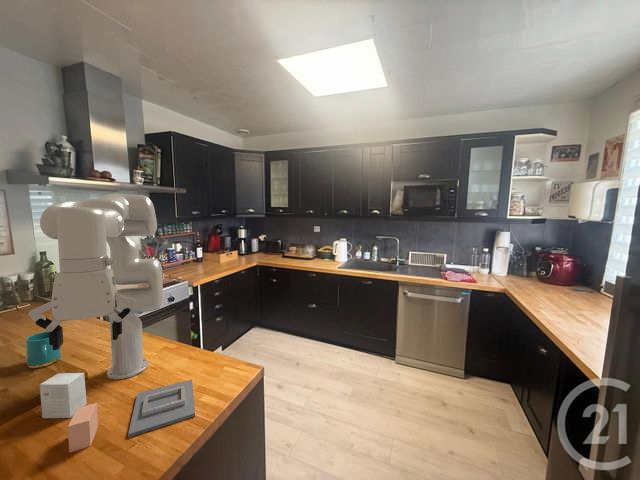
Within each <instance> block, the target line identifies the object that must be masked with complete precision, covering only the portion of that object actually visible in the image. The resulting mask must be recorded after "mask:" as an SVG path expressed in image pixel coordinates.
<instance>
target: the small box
mask: <svg viewBox="0 0 640 480" xmlns="http://www.w3.org/2000/svg"><path fill="white" fill-rule="evenodd" d="M39 391H40V393H39V395H40V405H41V407H40V408H41V418H42V419H68V418H69V419H70V418H71V419H72V418H73V416H74V414H75V412H76V410H77V408H79V407H83V406H87V403H88V402H87V392H86V391H87V390H86V379H85V372H59V373H56V374H55V375H53V376H52V377H50V378H48V379H46V380H44V382H43V381H42V383H40V384H39Z"/></svg>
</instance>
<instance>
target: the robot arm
mask: <svg viewBox="0 0 640 480" xmlns="http://www.w3.org/2000/svg"><path fill="white" fill-rule="evenodd" d="M157 222H158V221H157V216H156V211H155V206H154V203H153V202H152V200H151V199H150V198H149V197H148V196H146V195H143V194H130V193H108V194H105V195H102V196H100V197H99V198H89V199H82V200H72V201H70V200H69V201H64V202H63V201H62V202H58V203H54V204H52V205H50V206H48V207H47V208H45V209H44V210H43V212H42V213H41V215H40V219H39V228H40V229H41V231H42V233H43V234H44V235H45V237H48V238H50V239H53V240H57V248H58V249H57V250H58V263H59V272H57V273H56V274H55V276H54V280H53V285H52V286H53V287H52V294H51V301H49V302H47V303H45V304H43V305H41V306H38V307H36V308H34V309H32V310H30V311H29V312H28V313H27V314H28V316H29V317H30V319H32V321H33V322H35V325H36V326H38V327H40V328H42V329H43V330H44V332H49V344H50V345H53V350H57V349H59V348H60V349H61V347H62V346H63V345H64V332H63V331H64V330H63V326H62V325H61V324H62V322H71V321H77V320H84V319H85V320H86V319H92V318H93V319H94V318H101V317H108V318H109V325H110V326H109V327H110V328H109V329H110V347H111V348H110V349H111V350H110V351H111V367H110V368H108V369H107V371H106V377H107V379H111V380H116V381H117V380H124V379H127V378H132V377H134V376H137V375H138V374H141V373H142V372H144V371H145V370H147V368H148V366H149V360H148V359H146V358H144V348H143V347H144V346H143V345H144V344H143V343H144V342H143V322H142V320H141V319H140V318H139V316H138V315H136V314H140V313H147V312H155V311H157V310H160V309H161V308H162V307H163V304H164V303H163V302H164V285H163V283H164V281H163V280H164V279H163V268H162V267H163V266H162V264H161V261H160V260H158V259H157V258H140V255H139V254H140V251H139V250H140V249H139V244H137V242H136V241H135V240H134V239H133V238H132V237H149V236H150V237H151V236H153V235H155V234H156V232H157V229H158V223H157ZM107 244H108V246H109V251H110V252H109V254H110V257H109V256H108V252H107V251H108V249H107V248H108V247H107ZM109 266H110V268H109ZM140 284H143V285H144V284H146V285H148V286H141V287H127V288H120V289H117V286H129V285H130V286H131V285H140ZM49 310H51V317H52V319H53V320H52V319H50V318H48V317H46V316H45V315H44V312H46V311H49Z"/></svg>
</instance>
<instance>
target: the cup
mask: <svg viewBox="0 0 640 480" xmlns="http://www.w3.org/2000/svg"><path fill="white" fill-rule="evenodd" d="M25 351H26V365H28V366H36V365H43V364H46V363H49V362H51V361H53V360H54V359H58V360H59V361H60V360H61V358H62V352H61V347H60V348H59V349H57V350H53V345H50V344H49V332H46V331H41V332H38V333H34V334H33V335H30V336H28V337H27V338H25ZM28 366H27V367H28Z"/></svg>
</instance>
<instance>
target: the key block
mask: <svg viewBox="0 0 640 480" xmlns="http://www.w3.org/2000/svg"><path fill="white" fill-rule="evenodd" d="M98 419H99V417H98V403H97V402H95V403H92V404H88V405H87V404H86V405H85V406H83V407H79V408H77V410H76V412H75V414H74V415H73V416H72V417H71V420H70V421H69V423H68V425H67V436H68V437H67V438H68V451H69V453H73V452H77V451H80V450H83V449H86V448H89V447H91V446H92V443H93V441H94V438H95V436H96V433H97V430H98V427H99V420H98Z"/></svg>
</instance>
